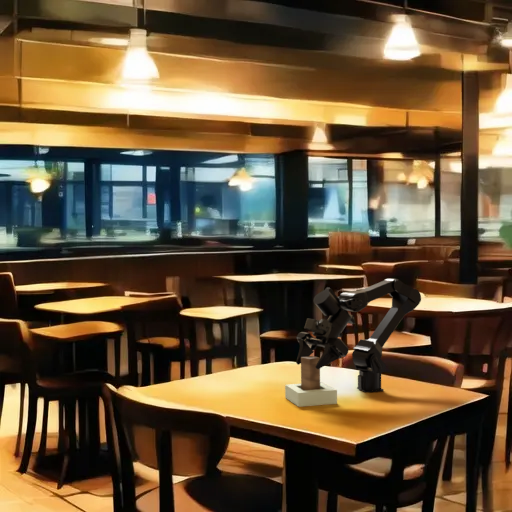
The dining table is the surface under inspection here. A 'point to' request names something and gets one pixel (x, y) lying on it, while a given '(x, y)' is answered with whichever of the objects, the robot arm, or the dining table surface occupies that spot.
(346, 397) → the dining table surface
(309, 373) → the walnut block
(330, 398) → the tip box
